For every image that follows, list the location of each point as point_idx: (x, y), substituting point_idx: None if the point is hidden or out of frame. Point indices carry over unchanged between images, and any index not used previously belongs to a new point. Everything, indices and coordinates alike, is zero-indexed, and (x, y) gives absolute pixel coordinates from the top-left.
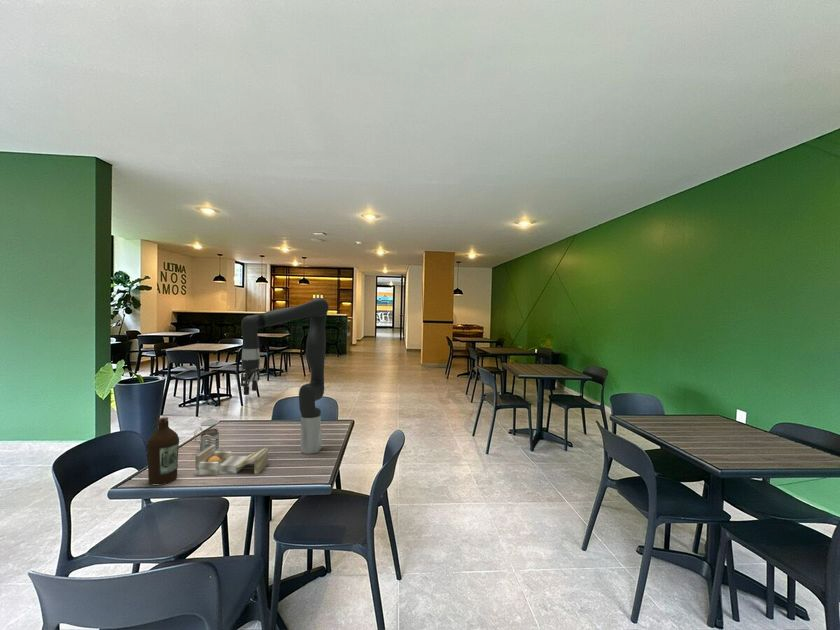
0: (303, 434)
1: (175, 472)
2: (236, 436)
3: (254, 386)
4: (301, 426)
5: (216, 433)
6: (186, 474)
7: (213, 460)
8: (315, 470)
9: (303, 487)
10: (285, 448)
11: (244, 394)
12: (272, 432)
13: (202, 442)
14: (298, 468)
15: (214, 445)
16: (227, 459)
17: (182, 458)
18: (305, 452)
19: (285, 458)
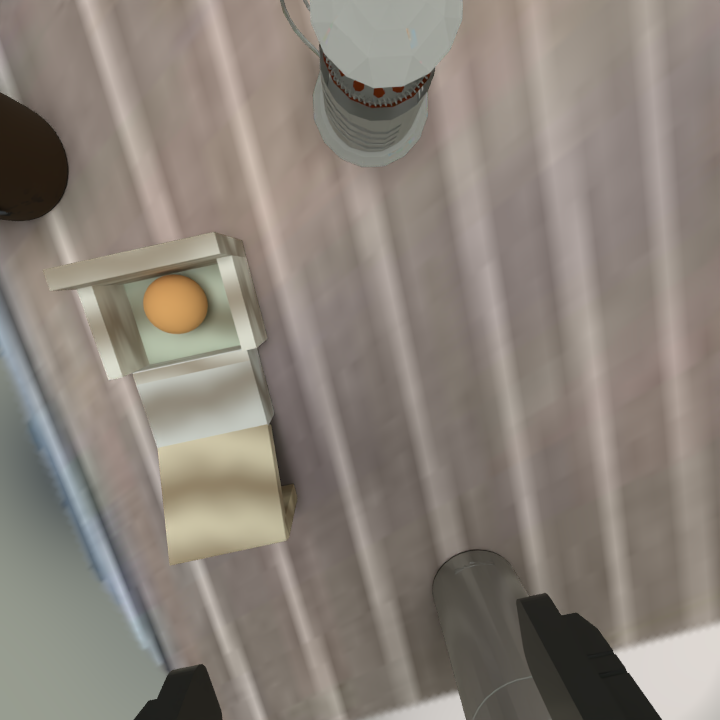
0: (457, 652)
1: (8, 215)
2: (611, 91)
3: (562, 713)
4: (482, 673)
5: (433, 71)
6: (97, 223)
7: (149, 320)
8: (292, 689)
9: None
10: (478, 472)
11: (177, 679)
12: (699, 270)
13: (321, 63)
14: (291, 628)
15: (210, 255)
16: (203, 363)
17: (242, 30)
18: (433, 591)
19: (369, 533)
